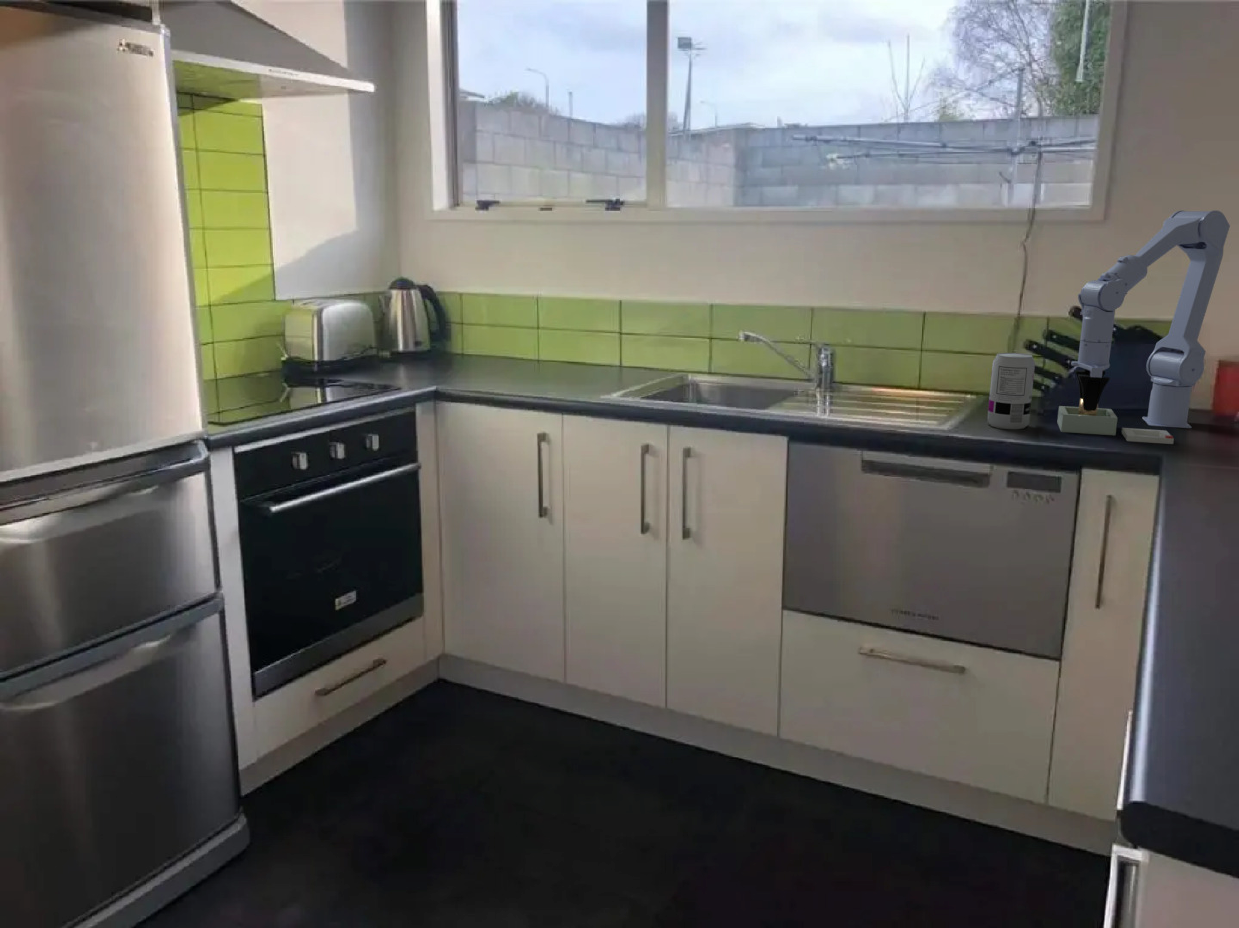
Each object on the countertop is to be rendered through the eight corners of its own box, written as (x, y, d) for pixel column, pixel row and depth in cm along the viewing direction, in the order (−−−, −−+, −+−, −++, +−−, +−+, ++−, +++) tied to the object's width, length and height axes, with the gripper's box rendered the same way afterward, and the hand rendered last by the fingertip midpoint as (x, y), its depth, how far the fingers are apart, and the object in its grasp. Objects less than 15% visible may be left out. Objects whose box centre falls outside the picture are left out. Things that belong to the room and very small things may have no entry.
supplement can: (978, 423, 214) (984, 353, 211) (1008, 420, 217) (1015, 351, 214) (1006, 431, 207) (1013, 358, 203) (1037, 428, 210) (1044, 356, 207)
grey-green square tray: (1057, 424, 214) (1059, 406, 213) (1108, 427, 211) (1111, 409, 210) (1060, 433, 205) (1063, 414, 204) (1115, 437, 201) (1117, 417, 200)
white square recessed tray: (1121, 435, 204) (1122, 426, 203) (1165, 437, 201) (1166, 429, 201) (1126, 443, 196) (1128, 434, 196) (1172, 446, 194) (1174, 437, 193)
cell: (1076, 425, 210) (1079, 394, 208) (1094, 427, 208) (1098, 396, 207) (1076, 429, 206) (1080, 397, 205) (1095, 430, 205) (1099, 398, 204)
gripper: (1070, 336, 211) (1063, 400, 214) (1077, 344, 198) (1070, 412, 201) (1107, 337, 209) (1100, 402, 212) (1117, 346, 196) (1108, 414, 199)
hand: (1087, 407), depth 206 cm, fingers open, 5 cm apart
